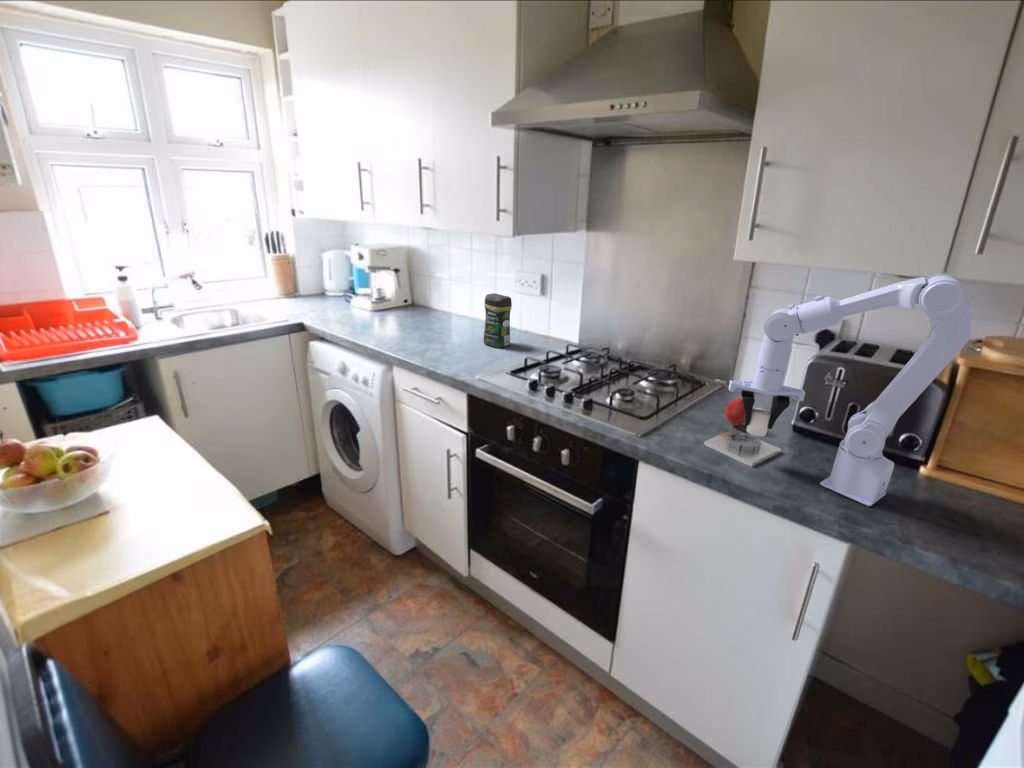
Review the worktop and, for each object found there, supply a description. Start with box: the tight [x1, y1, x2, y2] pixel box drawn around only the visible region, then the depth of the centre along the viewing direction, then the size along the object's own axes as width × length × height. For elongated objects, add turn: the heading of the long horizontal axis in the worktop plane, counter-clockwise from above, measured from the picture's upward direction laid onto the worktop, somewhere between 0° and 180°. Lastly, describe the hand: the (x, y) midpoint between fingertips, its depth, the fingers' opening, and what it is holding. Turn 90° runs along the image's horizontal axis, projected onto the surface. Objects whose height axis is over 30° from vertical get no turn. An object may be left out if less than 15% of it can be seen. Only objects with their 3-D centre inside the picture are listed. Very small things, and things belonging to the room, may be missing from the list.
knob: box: [745, 407, 771, 438], centre depth 113 cm, size 4×4×5 cm
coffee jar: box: [483, 292, 513, 349], centre depth 188 cm, size 10×8×19 cm
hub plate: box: [703, 428, 782, 468], centre depth 121 cm, size 12×12×2 cm
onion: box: [724, 396, 745, 427], centre depth 132 cm, size 6×6×8 cm
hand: (757, 425), depth 114 cm, fingers closed on knob, 4 cm apart
